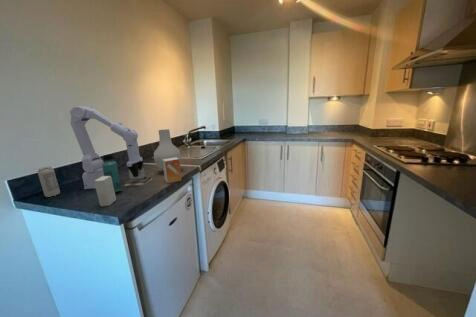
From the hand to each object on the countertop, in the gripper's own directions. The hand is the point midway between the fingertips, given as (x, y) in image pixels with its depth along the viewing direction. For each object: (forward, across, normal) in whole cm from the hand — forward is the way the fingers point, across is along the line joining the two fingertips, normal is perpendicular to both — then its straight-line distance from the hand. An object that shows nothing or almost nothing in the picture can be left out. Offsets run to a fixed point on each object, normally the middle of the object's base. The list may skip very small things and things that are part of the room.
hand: (137, 175), depth 115 cm
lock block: (+2, 0, 0) cm, 2 cm away
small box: (+5, 0, -20) cm, 21 cm away
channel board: (+4, 0, 0) cm, 4 cm away
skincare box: (+5, -26, +2) cm, 26 cm away
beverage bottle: (+5, -14, +6) cm, 16 cm away
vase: (+5, +19, -12) cm, 23 cm away
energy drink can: (+5, -13, +38) cm, 40 cm away
